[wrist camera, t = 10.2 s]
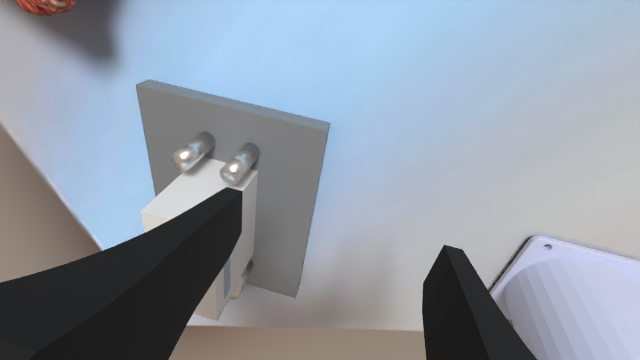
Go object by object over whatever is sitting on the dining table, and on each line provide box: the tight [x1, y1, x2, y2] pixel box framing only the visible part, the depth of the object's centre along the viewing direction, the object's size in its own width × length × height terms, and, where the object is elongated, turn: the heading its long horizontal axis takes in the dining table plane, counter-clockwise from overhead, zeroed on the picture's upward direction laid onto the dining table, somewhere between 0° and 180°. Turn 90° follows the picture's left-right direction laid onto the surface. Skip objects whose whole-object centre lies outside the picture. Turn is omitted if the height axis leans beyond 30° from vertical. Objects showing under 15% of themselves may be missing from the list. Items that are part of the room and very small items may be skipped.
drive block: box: [140, 157, 258, 321], centre depth 21 cm, size 4×8×6 cm, turn 170°
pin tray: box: [136, 80, 330, 299], centre depth 22 cm, size 12×16×4 cm
